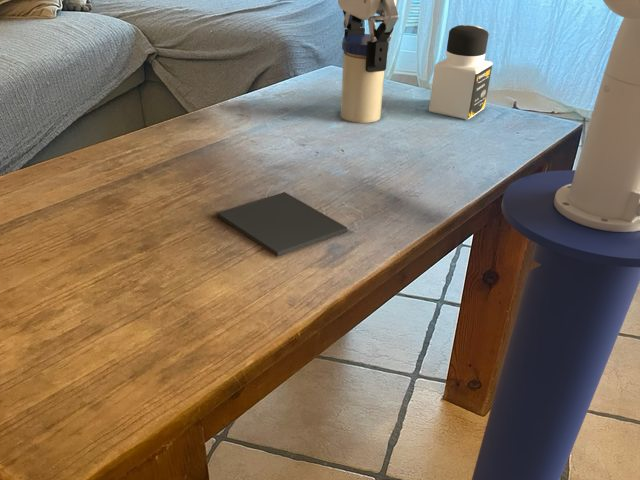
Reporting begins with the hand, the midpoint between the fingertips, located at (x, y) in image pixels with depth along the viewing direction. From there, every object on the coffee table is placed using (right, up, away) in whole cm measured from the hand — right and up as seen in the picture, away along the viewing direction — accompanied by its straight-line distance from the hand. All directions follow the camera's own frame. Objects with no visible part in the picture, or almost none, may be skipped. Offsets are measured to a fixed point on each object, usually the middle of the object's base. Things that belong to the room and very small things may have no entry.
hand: (364, 63), depth 101 cm
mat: (-11, -32, -23) cm, 41 cm away
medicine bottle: (+16, -3, +9) cm, 18 cm away
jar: (0, -6, +5) cm, 8 cm away
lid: (0, +2, -2) cm, 3 cm away
